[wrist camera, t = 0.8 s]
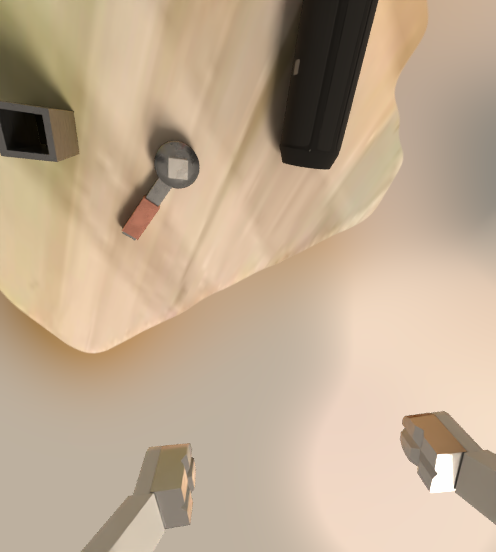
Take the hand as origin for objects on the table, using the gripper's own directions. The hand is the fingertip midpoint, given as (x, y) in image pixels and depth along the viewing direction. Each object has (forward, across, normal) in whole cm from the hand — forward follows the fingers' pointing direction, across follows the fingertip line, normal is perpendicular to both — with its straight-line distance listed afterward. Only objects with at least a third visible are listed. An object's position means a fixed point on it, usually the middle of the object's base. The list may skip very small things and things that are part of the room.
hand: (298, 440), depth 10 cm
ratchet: (+42, +14, -9) cm, 46 cm away
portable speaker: (+45, -13, -24) cm, 53 cm away
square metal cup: (+38, +26, -19) cm, 50 cm away
